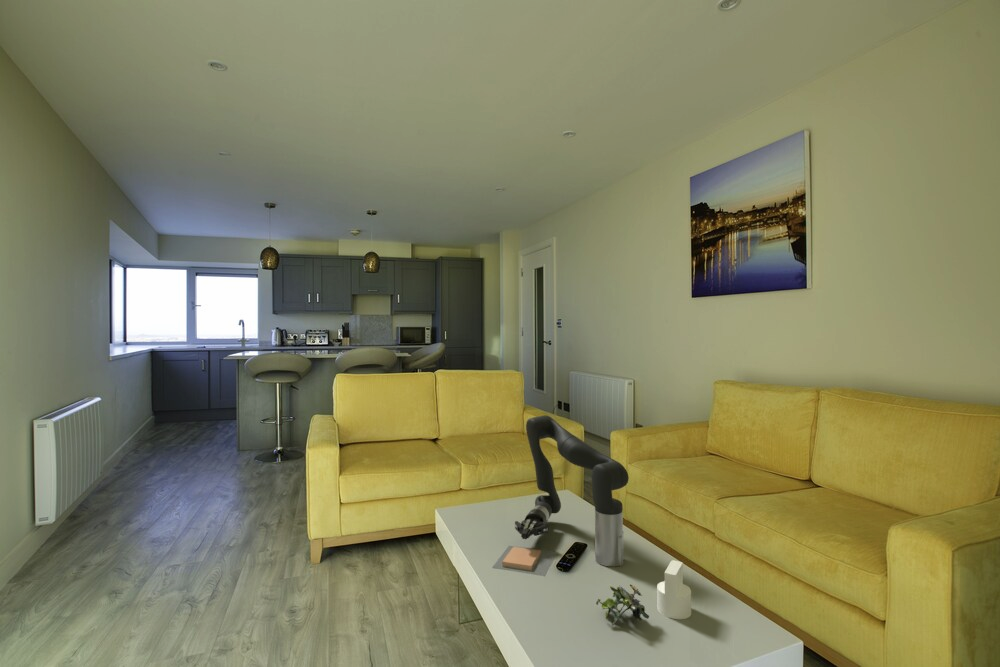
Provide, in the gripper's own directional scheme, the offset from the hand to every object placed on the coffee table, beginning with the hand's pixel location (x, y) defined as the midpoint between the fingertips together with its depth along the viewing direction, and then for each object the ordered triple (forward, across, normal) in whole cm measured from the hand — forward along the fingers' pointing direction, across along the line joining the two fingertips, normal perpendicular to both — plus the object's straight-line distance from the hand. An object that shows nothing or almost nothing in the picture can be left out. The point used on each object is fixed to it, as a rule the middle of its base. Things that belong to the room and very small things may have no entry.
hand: (524, 536), depth 174 cm
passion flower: (+28, +36, +8) cm, 46 cm away
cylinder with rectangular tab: (+18, +49, +8) cm, 53 cm away
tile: (-3, 0, +6) cm, 7 cm away
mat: (+2, +1, +8) cm, 8 cm away
